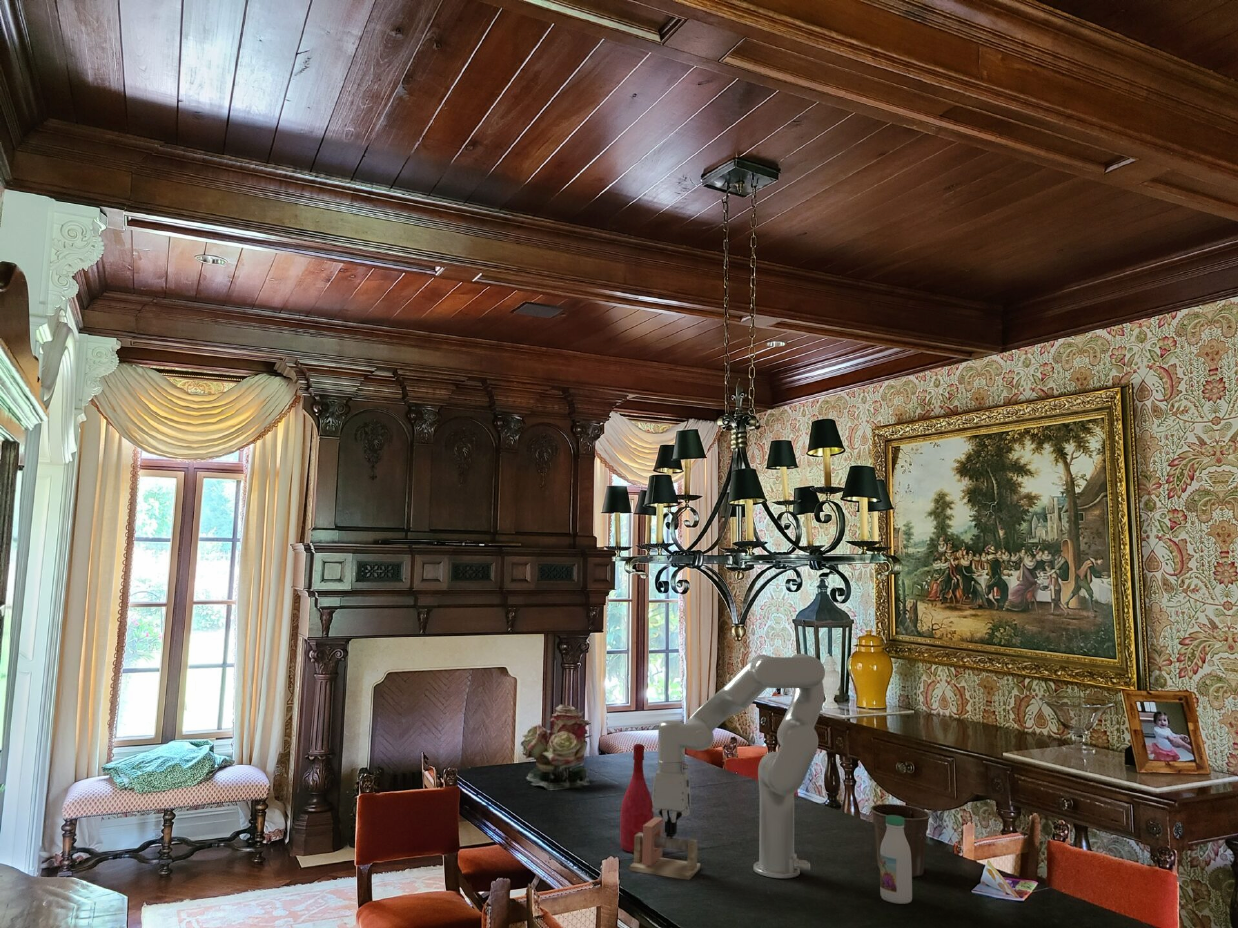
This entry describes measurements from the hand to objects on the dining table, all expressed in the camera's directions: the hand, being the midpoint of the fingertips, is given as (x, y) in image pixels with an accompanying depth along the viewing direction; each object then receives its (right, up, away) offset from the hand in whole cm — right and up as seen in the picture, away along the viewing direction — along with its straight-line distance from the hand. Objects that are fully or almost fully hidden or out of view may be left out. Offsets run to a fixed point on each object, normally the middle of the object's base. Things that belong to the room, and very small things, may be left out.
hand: (670, 835), depth 237 cm
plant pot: (+65, -12, +4) cm, 66 cm away
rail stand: (-2, -9, -1) cm, 9 cm away
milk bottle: (+56, -8, -19) cm, 60 cm away
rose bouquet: (-38, -23, +100) cm, 109 cm away
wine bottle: (-9, -11, +17) cm, 22 cm away
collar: (-5, -7, +1) cm, 9 cm away
